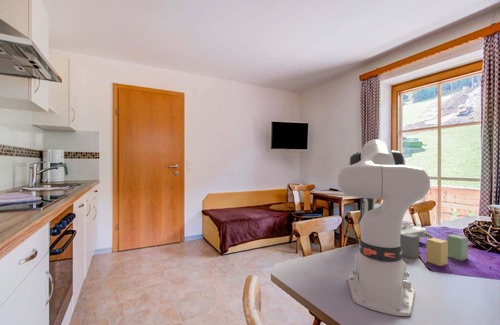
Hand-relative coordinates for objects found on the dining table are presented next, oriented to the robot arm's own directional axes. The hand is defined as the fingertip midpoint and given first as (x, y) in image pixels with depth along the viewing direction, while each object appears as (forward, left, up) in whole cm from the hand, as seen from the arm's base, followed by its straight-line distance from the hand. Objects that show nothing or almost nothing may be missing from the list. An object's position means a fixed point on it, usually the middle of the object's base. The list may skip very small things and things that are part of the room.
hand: (426, 238), depth 113 cm
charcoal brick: (-15, +9, -5) cm, 18 cm away
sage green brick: (-7, -9, -5) cm, 13 cm away
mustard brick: (-18, 0, -5) cm, 19 cm away
